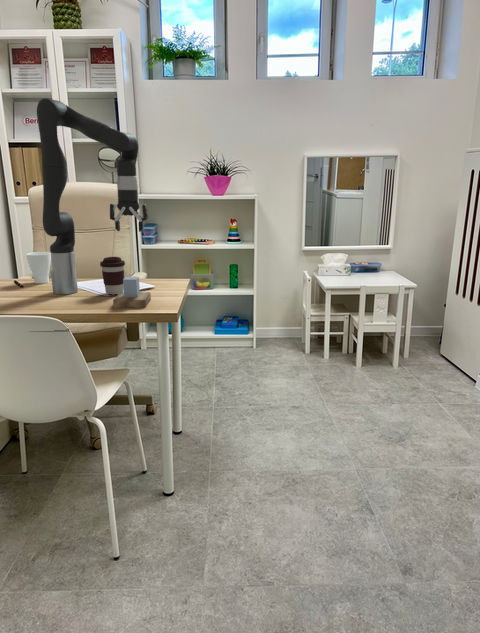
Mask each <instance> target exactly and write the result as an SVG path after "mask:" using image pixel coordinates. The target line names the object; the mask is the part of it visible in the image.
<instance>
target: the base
mask: <svg viewBox="0 0 480 633" xmlns="http://www.w3.org/2000/svg"><path fill="white" fill-rule="evenodd" d="M151 297H152V296H151V291H150V292H149V291H147V292H146V291H140V295H139V296H138V297H137V298H124V292H120V293H119V294H118V295H115V297H114V298H113V299H112V303H113V308H116V309H117V308H118V309H119V308H120V307H123V308H147V306H148V305H149V304H150V302H151V299H152V298H151ZM123 308H122V309H123ZM120 309H121V308H120Z"/></svg>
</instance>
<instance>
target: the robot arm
mask: <svg viewBox="0 0 480 633" xmlns="http://www.w3.org/2000/svg"><path fill="white" fill-rule="evenodd" d="M36 119H37V125H38V132H39V138H40V153H41V173H42V186H43V187H42V188H43V190H42V194H43V204H42V205H43V206H42V226H43V230H44V232H45V233H46V234H47V235H48V236H50V237H56V239H55V241H54V242H53V243H52V244H51V245H50V246H49V252H50V253H51V271H50V278H51V286H52V292H53V293H52V294H56V295H72V294H75V293H78V292H79V291H78V282H77V281H78V278H77V269H76V260H75V251H74V250H75V248H74V247H75V243H76V237H75V236H76V235H75V232H76V231H75V223H74V219H73V217H72V216H71V215H70V214H69V213H68V212H66V211H60V202H61V198H62V194H63V193H64V190H65V188H66V185H67V182H68V164H67V163H68V162H67V158H66V155H65V154H64V152H63V149H62V147H61V145H60V142H59V137H58V127H64V128H69V129H73V130H76V131H77V132H80V133H81V134H83V135H84V136H85V137H87V138H89V139H91V140H93V141H95V142H97V143H99V144H103V145H105V146H107V147H108V148H110V149H112V150H114V151H116V152H119V153H121V154H120V156H121V157H120V159H119V160H118V161H117V162H116V174H117V178H116V179H117V180H116V188H117V204H116V203H110V204H109V219H110V220H112V221H114V227H115V230H116V232H120V231H121V222H120V220H121V218H122V217H123V216H124V217H125V216H130V217H131V216H134V217H135V218H136V219H137V220H138V232H139V233H141V232H142V231H143V230H144V222H145V221H147V220H148V219H149V217H148V207H147V204H146V203H144V204H139V193H138V189H139V186H138V180H137V166H136V164H137V161H138V160H137V159H138V154H139V142H138V139H137V137H136V136H135V135H134V134H132V133H129V132H123V131H121V130H117V129H115V128H113V127H112V126H110V125H109V124H107V123H104V122H101V121H99V120H96V119H93V118H91V117H89V116H85V115H83V114H81V113H79V112H77V111H76V110H74V109H73V108H71V107H70V106H68V105H67V104H65V103H64V102H62V101H60V100H57V99H51V98H47V97H46V98H45V97H44V98H42V99H40V100H39V101H38V102H37V105H36ZM117 209H118V210H119V212H118V213H117V215H116V214H115V210H117ZM139 209H140V210H141V211H142V215H143V216H142V215H141V214H140V213H139V212H138V211H139ZM115 215H116V216H115Z"/></svg>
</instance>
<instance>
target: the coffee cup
mask: <svg viewBox="0 0 480 633" xmlns="http://www.w3.org/2000/svg"><path fill="white" fill-rule="evenodd" d="M99 266H100V267H101V273H102V279H103V285H104V289H105V294H106V293H107V294H106V295H108V294H119V293H120V292H124V286H123V279H124V278H125V269H124V266H126V262H125V260H122V257H119V256H108V257H104V258H103V260H101V261H100V262H99Z"/></svg>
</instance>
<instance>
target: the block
mask: <svg viewBox="0 0 480 633" xmlns="http://www.w3.org/2000/svg"><path fill="white" fill-rule="evenodd" d="M123 286H124V298H137V297H138V296H139V295H140V292H141V291H140V288H141V287H140V276H124V279H123Z"/></svg>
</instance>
